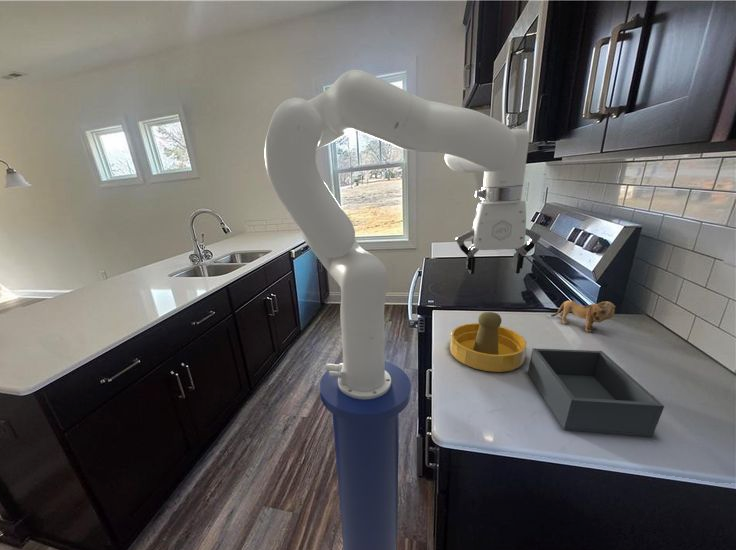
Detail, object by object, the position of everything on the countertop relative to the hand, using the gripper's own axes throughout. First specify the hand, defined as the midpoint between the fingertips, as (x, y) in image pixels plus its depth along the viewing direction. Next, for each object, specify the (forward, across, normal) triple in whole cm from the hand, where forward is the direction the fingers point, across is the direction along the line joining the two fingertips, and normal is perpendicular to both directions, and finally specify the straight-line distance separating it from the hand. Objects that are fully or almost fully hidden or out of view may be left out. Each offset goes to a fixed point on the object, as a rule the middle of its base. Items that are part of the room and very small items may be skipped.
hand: (492, 272), depth 74 cm
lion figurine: (+23, +30, +18) cm, 42 cm away
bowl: (+22, 0, 0) cm, 22 cm away
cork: (+22, 0, 0) cm, 22 cm away
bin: (+22, +14, -17) cm, 31 cm away
